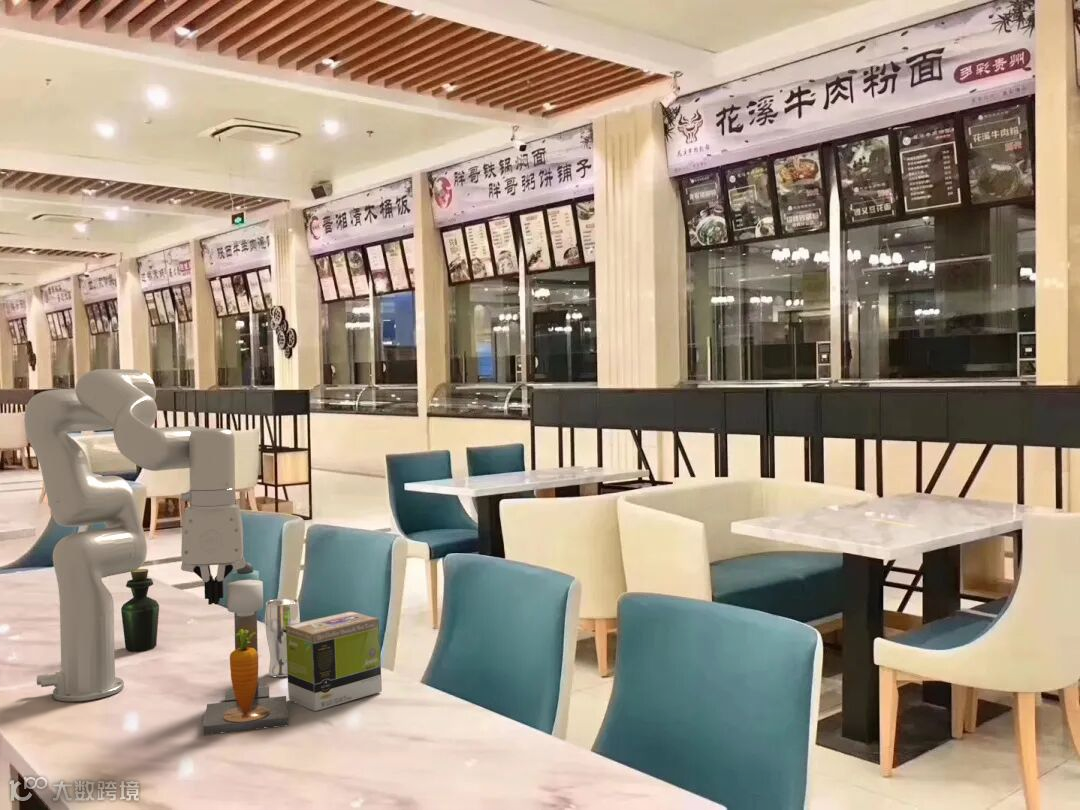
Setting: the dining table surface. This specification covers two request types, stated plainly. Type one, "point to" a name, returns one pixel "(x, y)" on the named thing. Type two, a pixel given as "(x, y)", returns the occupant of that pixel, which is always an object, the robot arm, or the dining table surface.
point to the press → (262, 708)
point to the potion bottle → (140, 614)
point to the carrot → (244, 671)
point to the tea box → (333, 660)
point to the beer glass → (279, 631)
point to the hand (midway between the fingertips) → (214, 602)
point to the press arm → (245, 591)
